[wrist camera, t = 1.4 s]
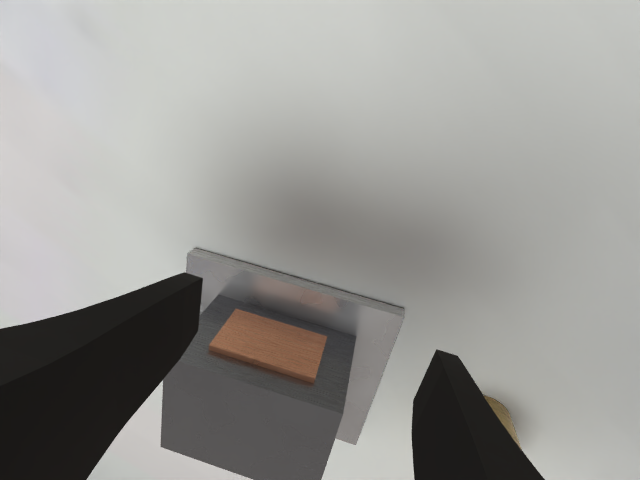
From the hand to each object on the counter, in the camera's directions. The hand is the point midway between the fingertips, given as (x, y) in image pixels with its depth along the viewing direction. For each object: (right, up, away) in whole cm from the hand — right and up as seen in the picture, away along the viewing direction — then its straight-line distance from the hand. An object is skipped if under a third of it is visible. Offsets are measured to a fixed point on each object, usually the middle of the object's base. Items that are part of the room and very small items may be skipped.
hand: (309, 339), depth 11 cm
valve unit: (-2, -4, +11) cm, 12 cm away
